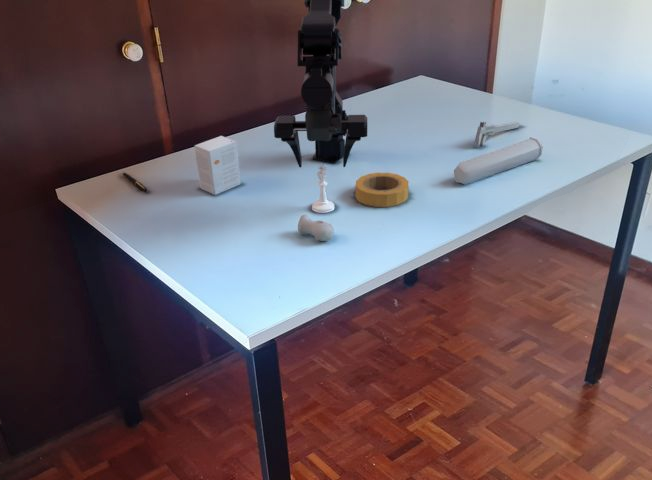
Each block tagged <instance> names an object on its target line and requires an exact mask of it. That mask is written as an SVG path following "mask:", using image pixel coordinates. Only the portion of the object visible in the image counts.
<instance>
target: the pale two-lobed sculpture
mask: <svg viewBox="0 0 652 480" xmlns="http://www.w3.org/2000/svg"><path fill="white" fill-rule="evenodd" d="M297 232H298V233H299V234H300V236H303V235H304V234H308V235H311V236H313V237H314V239H315V241H317V242H320V241H322V242H328V241H330V240H332V238H333V236H334V233H335V228H334V226H333V225H332V224H331V223H329V222H328V221H324V220H312V219H311V218H310V217H309V214H308V213H306V214H302V215H301V216H300V218H299V220H298V223H297Z"/></svg>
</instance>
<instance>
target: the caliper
mask: <svg viewBox="0 0 652 480" xmlns="http://www.w3.org/2000/svg"><path fill="white" fill-rule="evenodd" d="M520 126H522V124H521V123H520V122H518V121H513V122H507V123H501V124H493V123H492V124H487V121H480V123H479V126H478V127H477V129H476V130H477V131H476V134H475V141H474V143H475V144H474V147H476V148H480V147H482V148H483V147H484V144H485V143H486V139H487V136H489V137H494V135H495V133H499V132H503V131H510V130H516V129H518V128H519V127H520Z"/></svg>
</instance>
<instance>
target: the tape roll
mask: <svg viewBox="0 0 652 480" xmlns="http://www.w3.org/2000/svg"><path fill="white" fill-rule="evenodd" d="M409 185H410V183H409V180H408V179H407V178H406V177H405V176H402V175H400V174H398V173H393V172H372V173H368V174H365V175H362V176H360V177H358V179H356V180H355V198H356V200H357V201H358V202H359V203H361V204H363V205H365V206H369V207H374V208H390V207H396V206H398V205H401V204H403V203H405V202H406V201H407V200H408V199H409V188H410V187H409Z"/></svg>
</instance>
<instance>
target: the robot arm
mask: <svg viewBox="0 0 652 480" xmlns="http://www.w3.org/2000/svg"><path fill="white" fill-rule="evenodd" d="M303 1H304V6H305V8H308V14H307V15H305V16H304V17H302V20H301V25H300V26H301V27H300V28H298V29H297V67H304V77H303V80H302V83H301V87H300V88H301V89H300V94H301V98H302V100H303V102H304V103H305V107H306V108H305V109H306V111H305V114H304V120H296V119H297V118H296V116H295V115H278V116H277V117H276V119H275V121H274V125H273V136H274V138H275V139H280V141H281V142H284V143H286V144H288V145H289V147H290V149H291V150H292V153H293V155H294V158H295V160H296V163H297V165H298V167H299V169H300V168H302V166H303V165H302V164H303V163H302V159H303V158H302V152H301V145H300V138H299V132H306V139H307V141H309V142H314V144H315V145H314V149H315V152H314V153H315V154H314V155H313V156H312V160H314V161H320V162H325V163H331V164H336V163H338V162H339V161H341V159H342V158H343V159H342V168H346V166H347V163H348V160H349V156H350V153H351V150H352V148H353V146H354V145H355V143H356V142H359V141H361V140H362V138H367V137H368V117H367V115H366V114H347V112H346V109H344V105H343V103H344V102H343V99H342V98H341V96H340V94H339V93H338V92H337V77H336V76H337V74H336V73H337V71H336V69H337V67H338V66H339V60H343V59H342V57H343V55H342V54H343V34H342V33H341V30H340V29H339V27H337V25H338V24H339V21H340V19H341V17H342V8H344V7H345V0H303ZM302 55H303V56H302ZM344 137H345V138H344Z"/></svg>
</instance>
